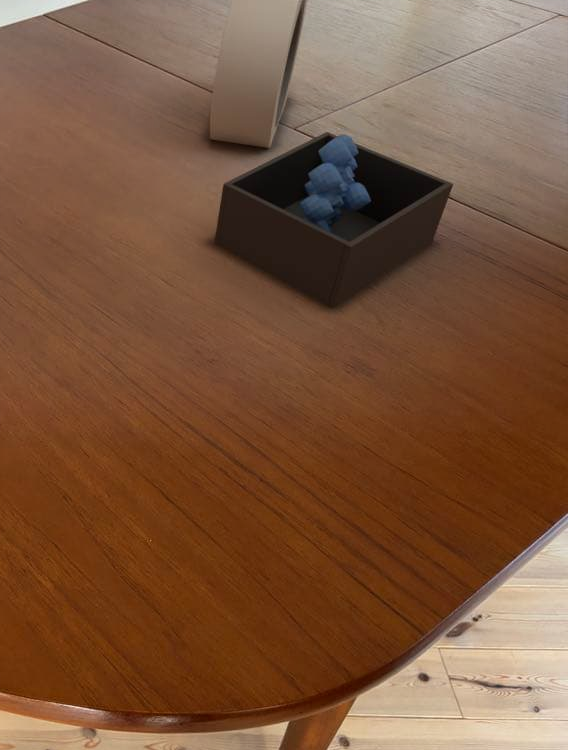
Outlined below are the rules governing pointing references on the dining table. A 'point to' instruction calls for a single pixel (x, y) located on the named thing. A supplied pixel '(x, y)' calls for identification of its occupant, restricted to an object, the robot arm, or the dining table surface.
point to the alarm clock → (255, 69)
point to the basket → (351, 233)
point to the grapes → (334, 185)
